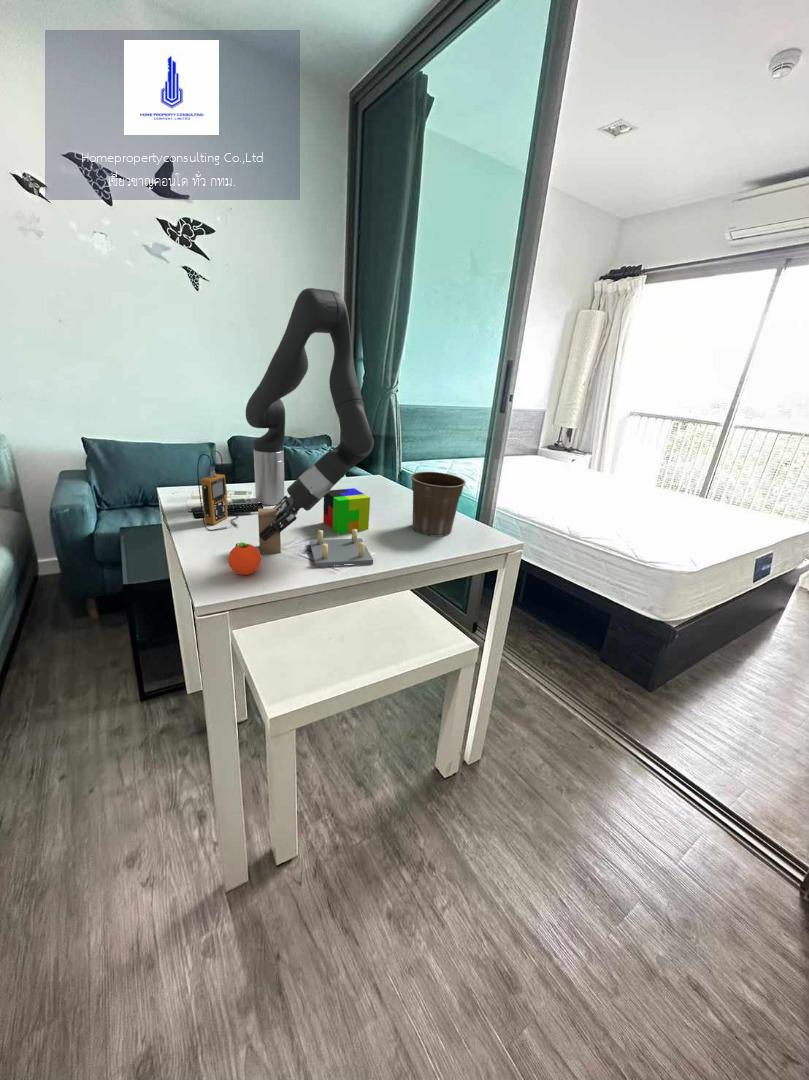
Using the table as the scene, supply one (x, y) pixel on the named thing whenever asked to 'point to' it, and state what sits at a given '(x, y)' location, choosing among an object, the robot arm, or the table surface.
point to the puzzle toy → (346, 510)
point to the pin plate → (339, 551)
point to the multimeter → (214, 497)
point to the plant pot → (435, 501)
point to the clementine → (244, 559)
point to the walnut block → (274, 541)
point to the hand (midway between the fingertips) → (261, 533)
